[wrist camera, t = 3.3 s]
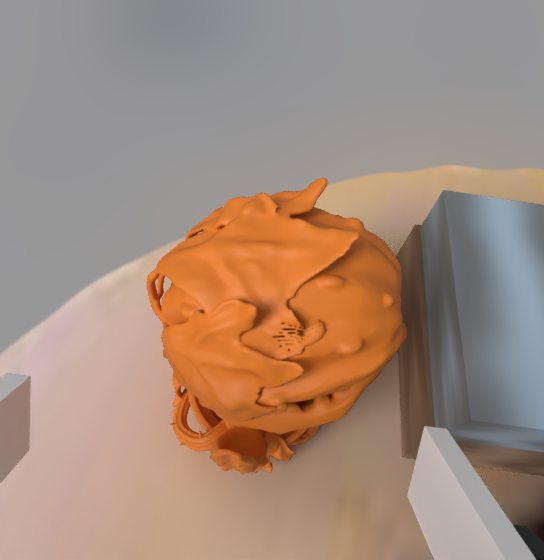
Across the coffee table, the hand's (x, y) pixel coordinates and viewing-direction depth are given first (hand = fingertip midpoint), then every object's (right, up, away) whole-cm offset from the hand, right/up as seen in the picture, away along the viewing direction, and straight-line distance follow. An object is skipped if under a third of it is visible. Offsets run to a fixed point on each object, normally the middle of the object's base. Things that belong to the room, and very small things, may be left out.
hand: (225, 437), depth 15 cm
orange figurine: (+1, -2, +14) cm, 15 cm away
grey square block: (+18, -1, +17) cm, 25 cm away
